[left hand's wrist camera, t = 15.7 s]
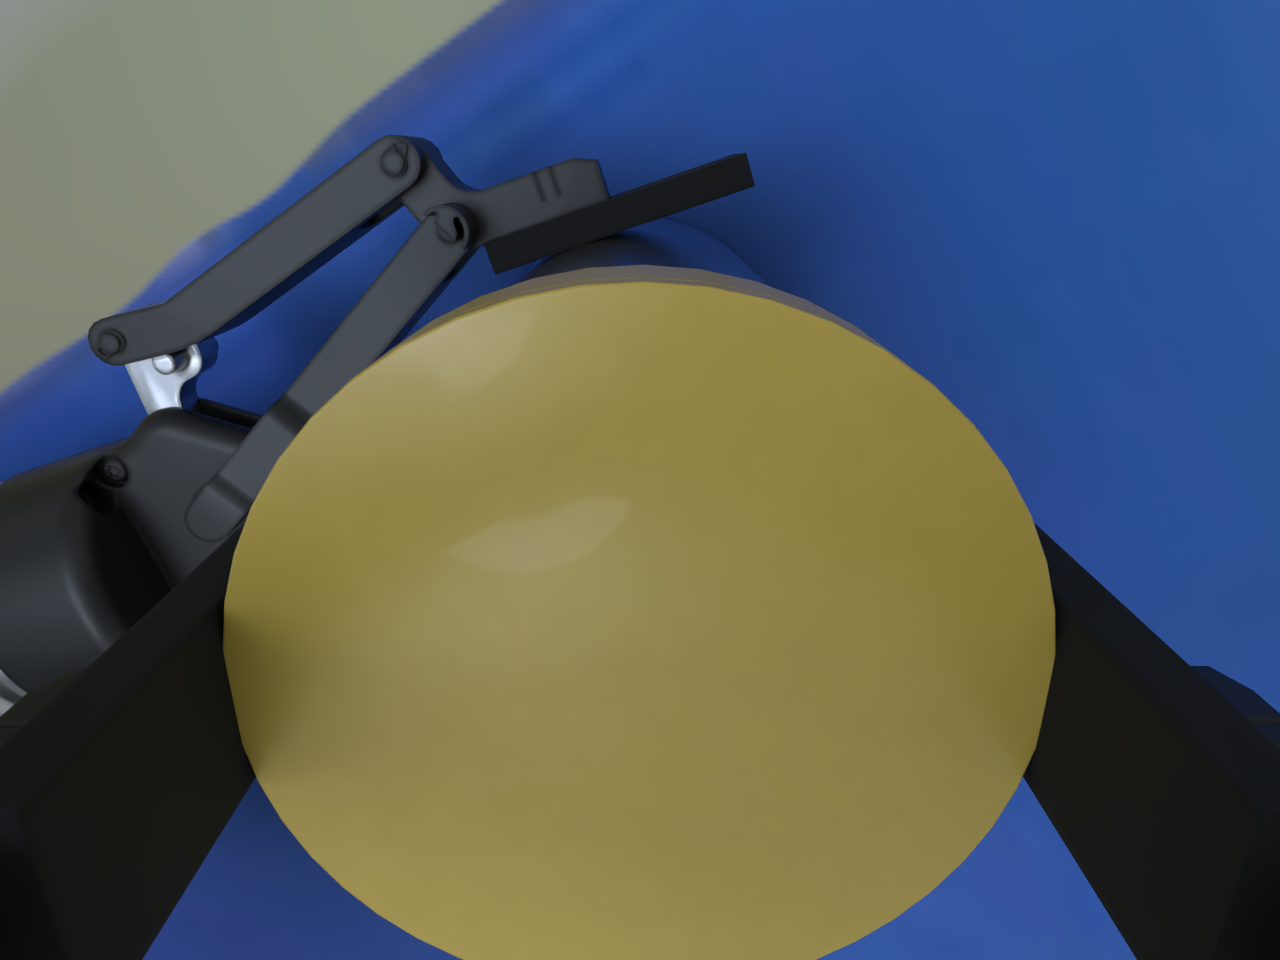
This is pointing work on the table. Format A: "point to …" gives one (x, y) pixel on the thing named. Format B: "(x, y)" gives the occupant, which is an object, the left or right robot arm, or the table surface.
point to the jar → (648, 252)
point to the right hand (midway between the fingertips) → (795, 365)
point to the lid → (639, 626)
